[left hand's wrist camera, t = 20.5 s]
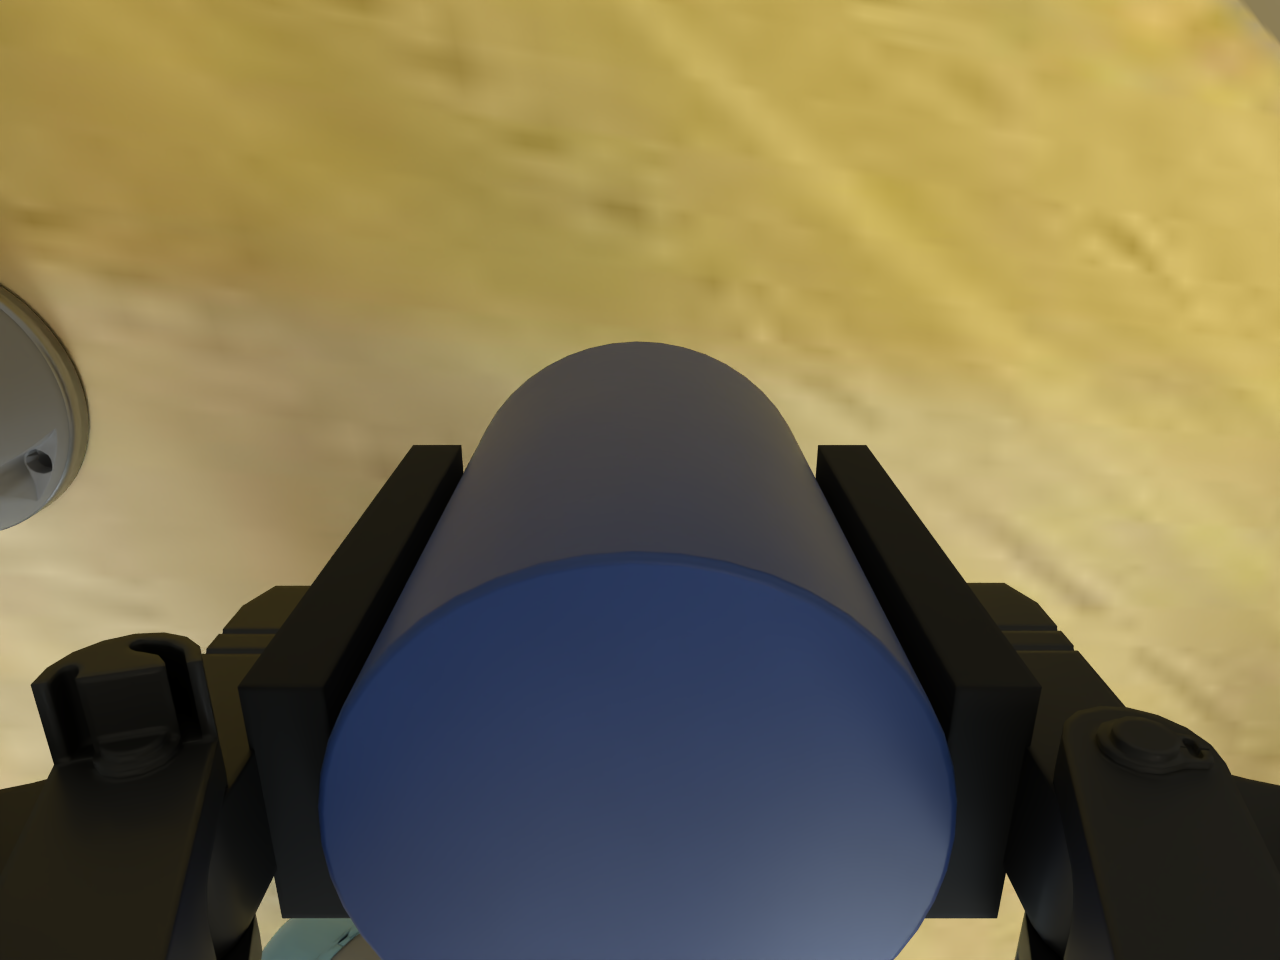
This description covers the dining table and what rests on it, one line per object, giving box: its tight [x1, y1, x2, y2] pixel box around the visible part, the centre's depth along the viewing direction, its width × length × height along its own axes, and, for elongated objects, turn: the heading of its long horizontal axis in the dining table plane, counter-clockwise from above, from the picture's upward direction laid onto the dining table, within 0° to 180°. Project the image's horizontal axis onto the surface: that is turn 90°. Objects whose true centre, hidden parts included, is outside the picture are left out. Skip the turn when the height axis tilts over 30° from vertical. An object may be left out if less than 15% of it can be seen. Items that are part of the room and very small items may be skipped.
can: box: [318, 342, 957, 960], centre depth 11 cm, size 6×6×8 cm
